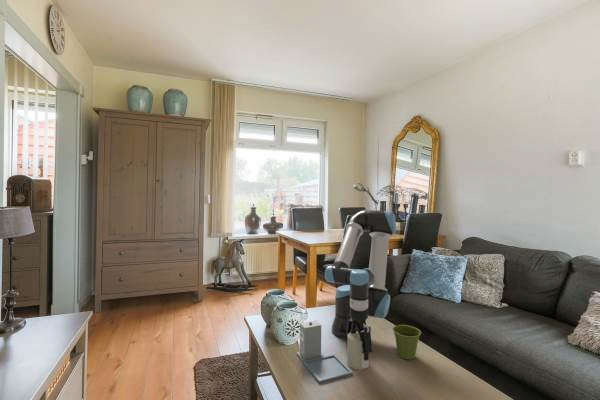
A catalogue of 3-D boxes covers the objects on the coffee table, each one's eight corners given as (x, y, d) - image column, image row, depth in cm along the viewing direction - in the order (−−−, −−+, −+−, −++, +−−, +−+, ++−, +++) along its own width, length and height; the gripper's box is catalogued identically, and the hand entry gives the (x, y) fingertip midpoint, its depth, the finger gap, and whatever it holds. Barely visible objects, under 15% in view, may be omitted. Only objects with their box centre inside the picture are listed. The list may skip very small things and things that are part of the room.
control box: (317, 349, 143) (317, 317, 142) (324, 357, 136) (324, 324, 136) (296, 354, 139) (296, 321, 138) (303, 362, 132) (303, 328, 132)
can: (355, 371, 125) (356, 342, 125) (342, 360, 134) (342, 332, 133) (373, 366, 130) (374, 337, 129) (359, 355, 138) (360, 328, 137)
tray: (334, 356, 137) (334, 353, 137) (352, 375, 123) (352, 372, 123) (303, 363, 131) (303, 361, 131) (319, 383, 118) (319, 380, 117)
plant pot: (424, 355, 138) (425, 330, 138) (413, 366, 130) (414, 339, 129) (399, 346, 146) (400, 322, 146) (387, 355, 138) (387, 330, 137)
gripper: (337, 300, 139) (337, 350, 140) (366, 319, 119) (365, 377, 120) (352, 298, 142) (351, 347, 143) (382, 316, 122) (381, 372, 123)
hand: (358, 360), depth 132 cm, fingers closed on can, 9 cm apart
